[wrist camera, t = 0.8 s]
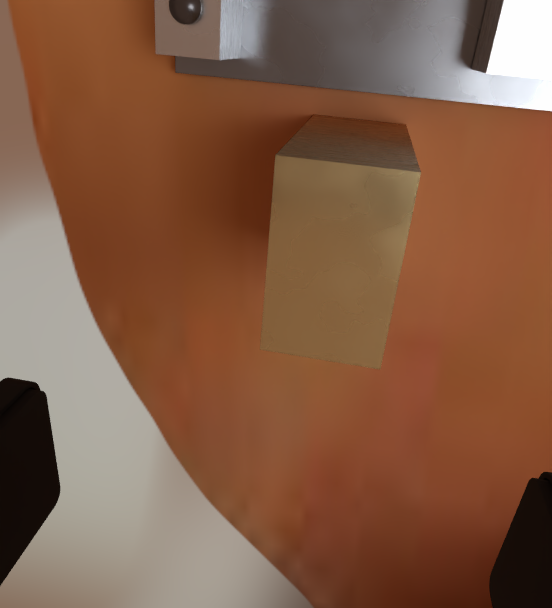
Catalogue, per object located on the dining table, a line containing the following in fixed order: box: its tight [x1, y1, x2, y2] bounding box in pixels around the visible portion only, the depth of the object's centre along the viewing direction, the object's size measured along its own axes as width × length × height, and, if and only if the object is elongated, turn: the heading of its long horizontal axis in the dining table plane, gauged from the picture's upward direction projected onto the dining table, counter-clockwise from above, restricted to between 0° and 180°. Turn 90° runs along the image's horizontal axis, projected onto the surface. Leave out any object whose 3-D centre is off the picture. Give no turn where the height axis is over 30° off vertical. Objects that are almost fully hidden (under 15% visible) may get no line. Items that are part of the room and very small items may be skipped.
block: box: [260, 115, 421, 369], centre depth 25 cm, size 5×8×12 cm, turn 176°
